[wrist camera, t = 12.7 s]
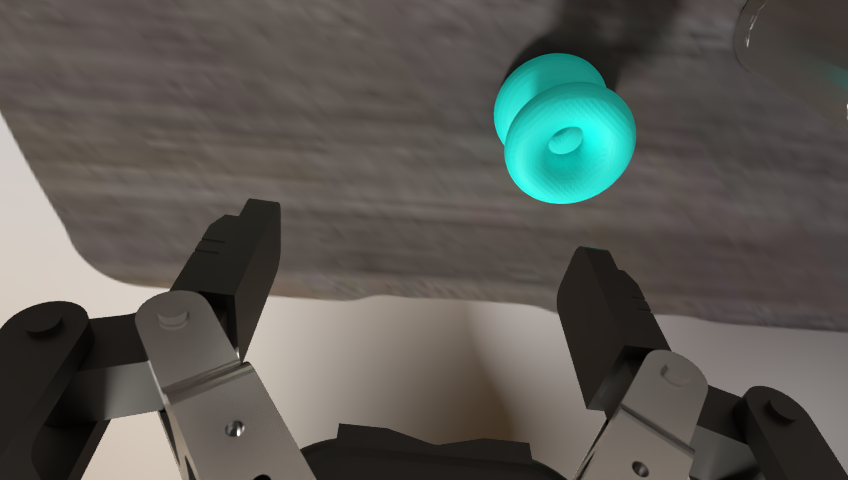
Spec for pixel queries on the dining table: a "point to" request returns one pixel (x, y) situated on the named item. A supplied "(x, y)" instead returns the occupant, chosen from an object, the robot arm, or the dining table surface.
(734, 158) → the dining table surface
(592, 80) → the donuts
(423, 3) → the dining table surface
